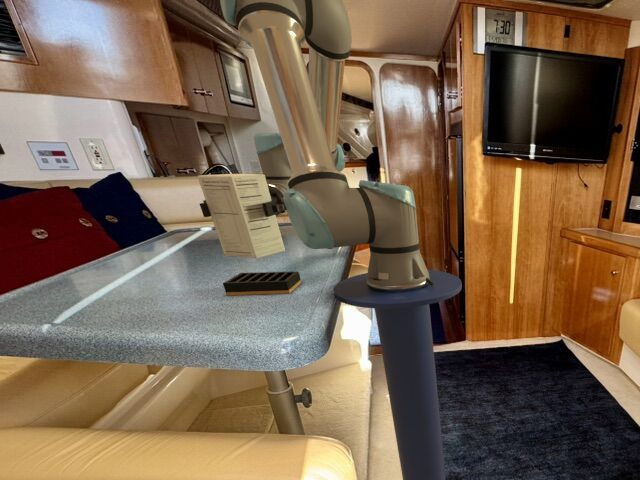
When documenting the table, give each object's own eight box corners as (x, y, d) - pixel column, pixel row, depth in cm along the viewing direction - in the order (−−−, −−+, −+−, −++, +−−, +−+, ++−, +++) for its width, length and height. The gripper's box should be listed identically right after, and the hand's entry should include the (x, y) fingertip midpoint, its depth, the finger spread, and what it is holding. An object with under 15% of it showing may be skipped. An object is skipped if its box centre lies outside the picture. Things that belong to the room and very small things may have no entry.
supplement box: (286, 251, 98) (266, 174, 89) (256, 259, 90) (232, 175, 82) (254, 248, 100) (232, 173, 91) (222, 256, 92) (195, 174, 84)
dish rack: (301, 282, 104) (298, 271, 103) (289, 293, 96) (286, 281, 94) (244, 284, 102) (240, 272, 101) (226, 295, 94) (222, 283, 92)
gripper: (322, 215, 109) (297, 227, 90) (226, 215, 106) (181, 229, 87) (315, 185, 105) (289, 191, 87) (216, 184, 102) (166, 191, 83)
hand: (234, 210), depth 87 cm, fingers closed on supplement box, 12 cm apart
